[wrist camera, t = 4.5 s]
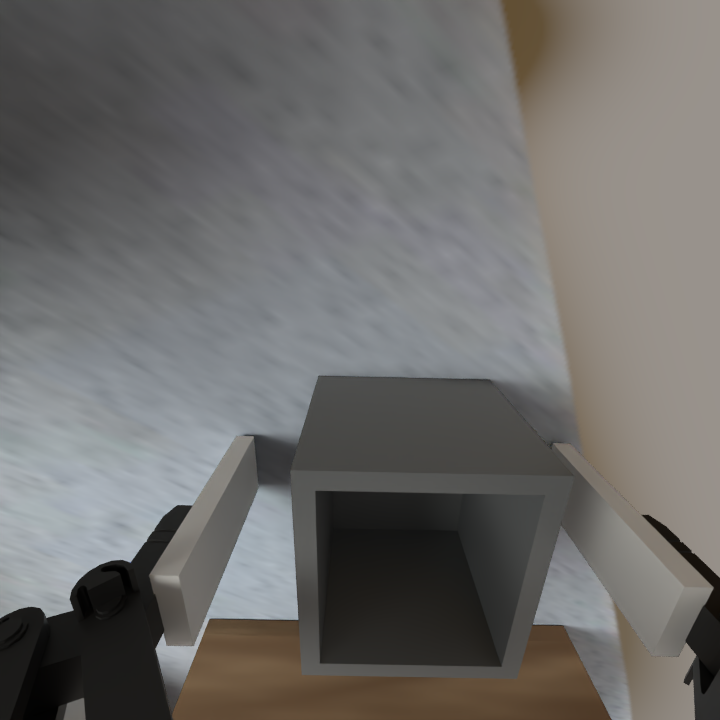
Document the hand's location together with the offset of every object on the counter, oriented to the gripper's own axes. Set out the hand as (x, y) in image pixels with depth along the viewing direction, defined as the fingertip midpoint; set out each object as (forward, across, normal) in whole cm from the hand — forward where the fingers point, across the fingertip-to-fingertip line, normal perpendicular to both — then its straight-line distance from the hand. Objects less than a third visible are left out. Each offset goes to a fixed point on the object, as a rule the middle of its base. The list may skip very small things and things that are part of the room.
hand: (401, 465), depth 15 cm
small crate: (0, 0, 0) cm, 0 cm away
